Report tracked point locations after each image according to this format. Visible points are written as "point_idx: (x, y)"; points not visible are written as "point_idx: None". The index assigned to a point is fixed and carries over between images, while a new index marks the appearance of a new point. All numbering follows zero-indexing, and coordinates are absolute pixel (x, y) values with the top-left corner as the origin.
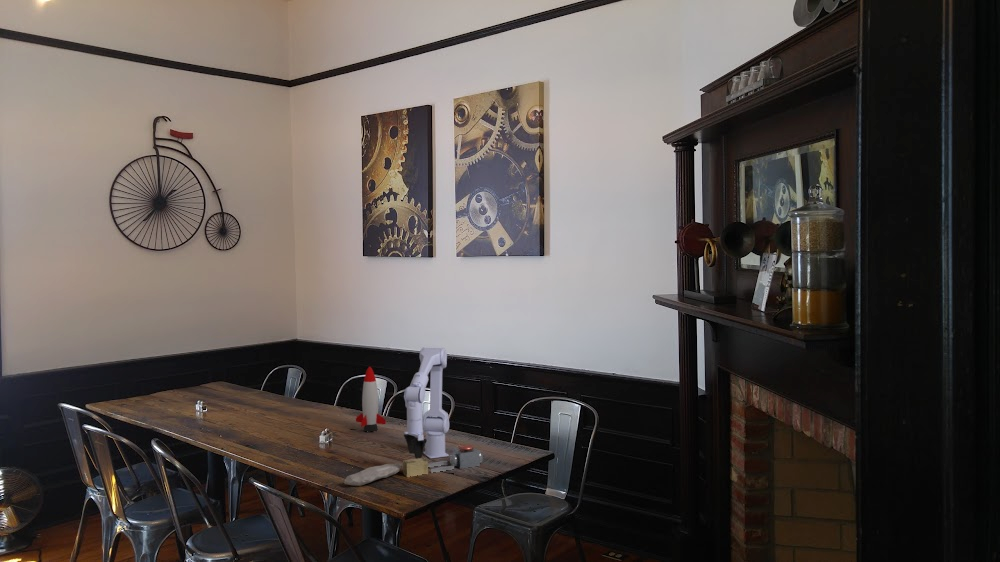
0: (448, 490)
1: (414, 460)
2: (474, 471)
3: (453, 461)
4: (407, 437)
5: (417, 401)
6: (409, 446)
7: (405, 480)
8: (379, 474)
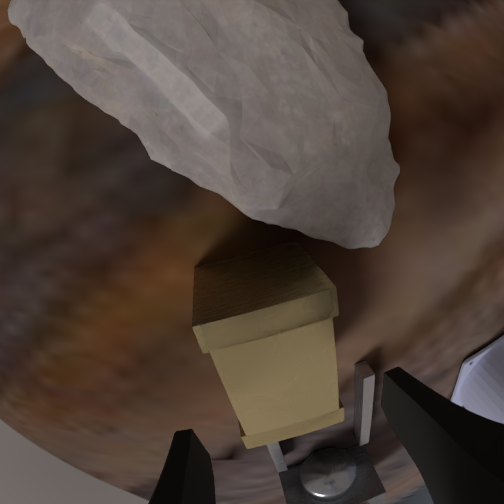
0: (7, 414)
1: (289, 381)
2: (235, 493)
3: (305, 479)
4: (489, 489)
5: None
6: (424, 420)
7: (119, 254)
8: (57, 47)
